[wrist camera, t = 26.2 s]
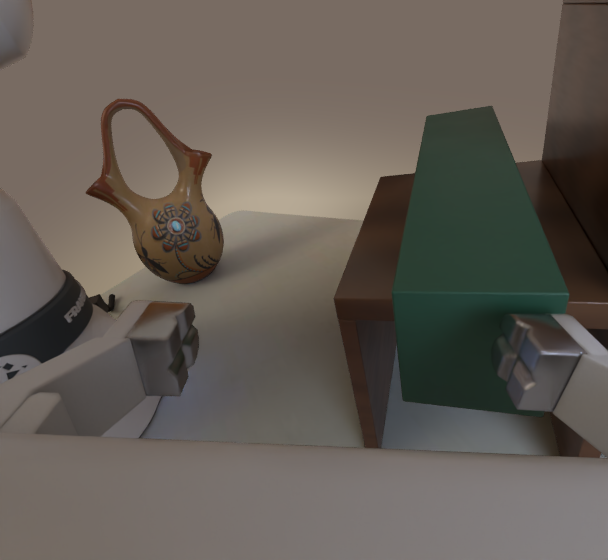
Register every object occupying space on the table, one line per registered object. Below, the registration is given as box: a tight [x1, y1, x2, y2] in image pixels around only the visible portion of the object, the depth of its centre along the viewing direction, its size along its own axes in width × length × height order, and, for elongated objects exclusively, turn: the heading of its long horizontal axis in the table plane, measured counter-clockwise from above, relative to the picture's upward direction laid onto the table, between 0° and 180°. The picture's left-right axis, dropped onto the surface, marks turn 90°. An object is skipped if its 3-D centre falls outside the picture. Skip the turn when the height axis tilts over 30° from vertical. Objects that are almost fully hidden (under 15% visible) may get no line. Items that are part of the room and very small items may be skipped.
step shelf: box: [334, 0, 608, 458], centre depth 23 cm, size 18×26×26 cm
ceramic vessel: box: [86, 99, 224, 284], centre depth 50 cm, size 16×9×25 cm, turn 111°
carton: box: [391, 106, 569, 417], centre depth 20 cm, size 22×4×5 cm, turn 162°
